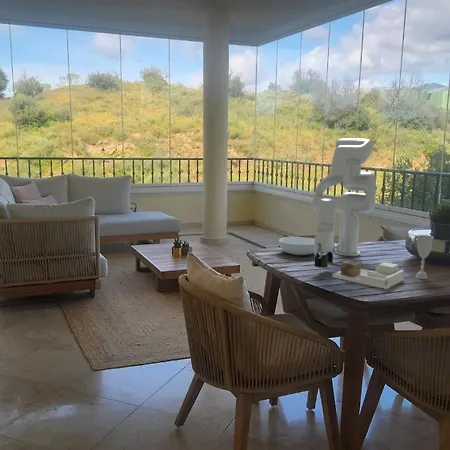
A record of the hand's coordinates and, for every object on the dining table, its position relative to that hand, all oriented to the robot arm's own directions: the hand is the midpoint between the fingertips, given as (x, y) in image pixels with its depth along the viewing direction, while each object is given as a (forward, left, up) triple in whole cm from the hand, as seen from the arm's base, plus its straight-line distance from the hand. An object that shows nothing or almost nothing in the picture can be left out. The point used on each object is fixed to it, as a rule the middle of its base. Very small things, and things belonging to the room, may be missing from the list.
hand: (323, 264), depth 220 cm
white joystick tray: (+19, +4, -3) cm, 20 cm away
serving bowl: (-27, +23, -4) cm, 36 cm away
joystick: (+7, 0, -2) cm, 7 cm away
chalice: (+35, +23, -4) cm, 42 cm away
